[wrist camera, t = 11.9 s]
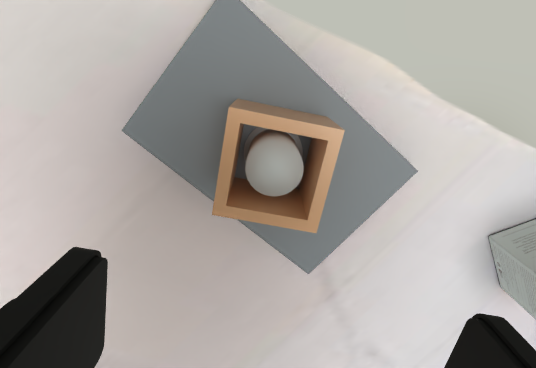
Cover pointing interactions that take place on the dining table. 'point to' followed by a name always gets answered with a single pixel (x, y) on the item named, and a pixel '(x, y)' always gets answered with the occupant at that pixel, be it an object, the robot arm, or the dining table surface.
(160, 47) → the dining table surface
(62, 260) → the robot arm
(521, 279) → the small box
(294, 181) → the grey plate with peg
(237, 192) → the collar
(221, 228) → the dining table surface
